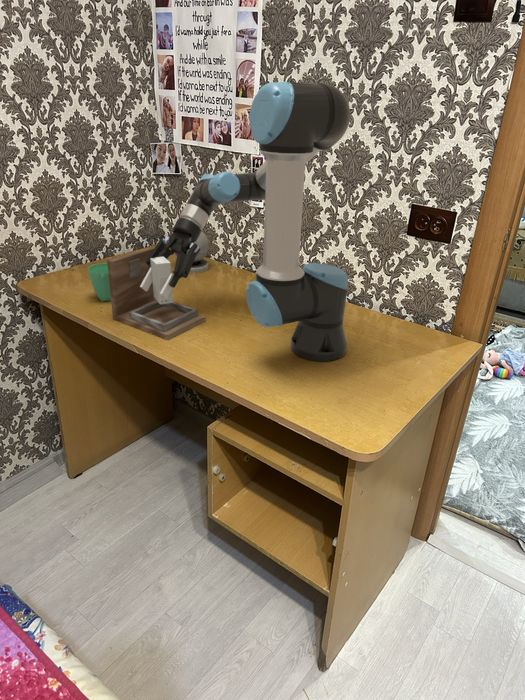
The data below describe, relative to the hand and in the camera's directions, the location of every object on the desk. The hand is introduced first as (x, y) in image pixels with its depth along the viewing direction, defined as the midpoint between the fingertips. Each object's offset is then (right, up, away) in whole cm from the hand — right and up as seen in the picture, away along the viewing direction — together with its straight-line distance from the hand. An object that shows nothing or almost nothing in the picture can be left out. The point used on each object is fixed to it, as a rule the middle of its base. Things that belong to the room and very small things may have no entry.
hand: (153, 292), depth 149 cm
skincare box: (+2, -2, +4) cm, 5 cm away
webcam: (+4, +15, +51) cm, 53 cm away
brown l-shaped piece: (0, -7, +8) cm, 11 cm away
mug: (-17, +1, +23) cm, 29 cm away
